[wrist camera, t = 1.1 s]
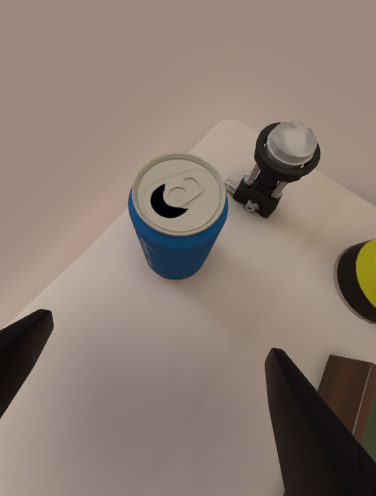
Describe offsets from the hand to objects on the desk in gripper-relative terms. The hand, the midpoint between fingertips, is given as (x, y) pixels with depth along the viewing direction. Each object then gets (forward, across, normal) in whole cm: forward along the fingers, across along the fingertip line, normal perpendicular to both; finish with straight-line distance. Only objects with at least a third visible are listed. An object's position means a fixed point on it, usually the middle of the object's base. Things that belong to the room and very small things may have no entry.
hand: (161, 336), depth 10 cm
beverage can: (+16, 0, +5) cm, 16 cm away
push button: (+21, -7, 0) cm, 22 cm away
